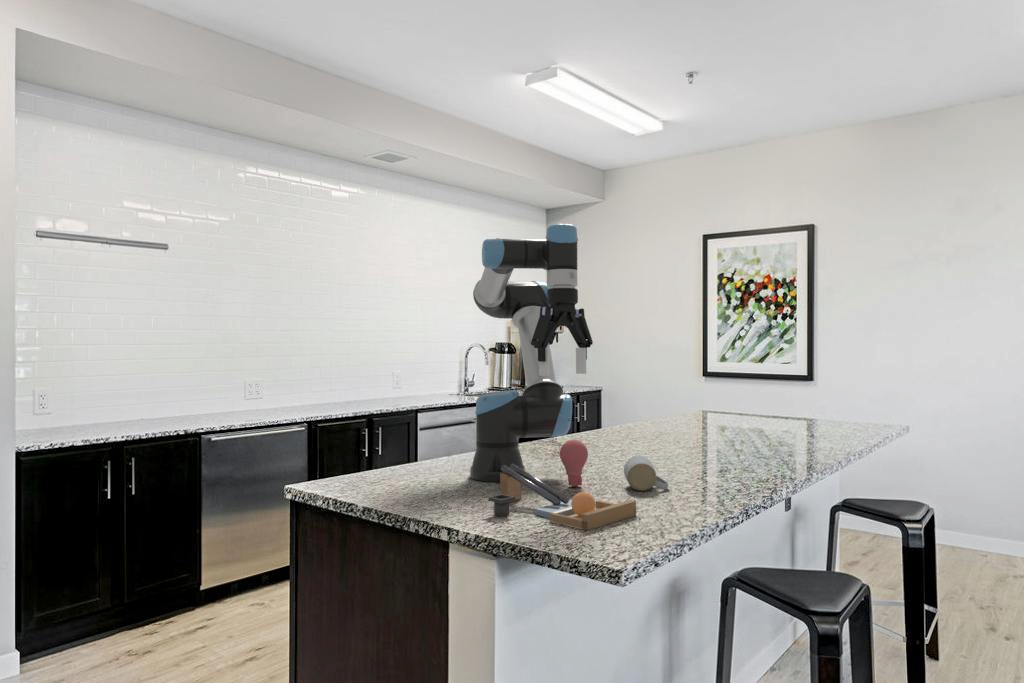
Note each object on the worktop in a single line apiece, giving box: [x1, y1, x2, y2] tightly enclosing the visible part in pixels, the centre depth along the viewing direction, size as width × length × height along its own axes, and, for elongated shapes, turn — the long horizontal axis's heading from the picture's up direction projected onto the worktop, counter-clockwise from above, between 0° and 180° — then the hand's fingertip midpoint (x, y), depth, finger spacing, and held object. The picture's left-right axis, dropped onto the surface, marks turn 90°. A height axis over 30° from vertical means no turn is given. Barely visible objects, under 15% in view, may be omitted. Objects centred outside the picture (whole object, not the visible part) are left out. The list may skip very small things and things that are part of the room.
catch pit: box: [549, 499, 637, 532], centre depth 140 cm, size 10×16×3 cm, turn 135°
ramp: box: [499, 463, 570, 506], centre depth 152 cm, size 18×4×8 cm, turn 44°
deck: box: [534, 499, 575, 519], centre depth 146 cm, size 6×12×1 cm, turn 134°
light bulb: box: [559, 439, 589, 488], centre depth 171 cm, size 7×7×12 cm
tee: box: [487, 494, 515, 517], centre depth 144 cm, size 4×4×4 cm
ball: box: [571, 491, 596, 516], centre depth 141 cm, size 5×5×5 cm
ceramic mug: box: [623, 455, 669, 492], centre depth 168 cm, size 11×8×8 cm
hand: (563, 374), depth 166 cm, fingers open, 13 cm apart
